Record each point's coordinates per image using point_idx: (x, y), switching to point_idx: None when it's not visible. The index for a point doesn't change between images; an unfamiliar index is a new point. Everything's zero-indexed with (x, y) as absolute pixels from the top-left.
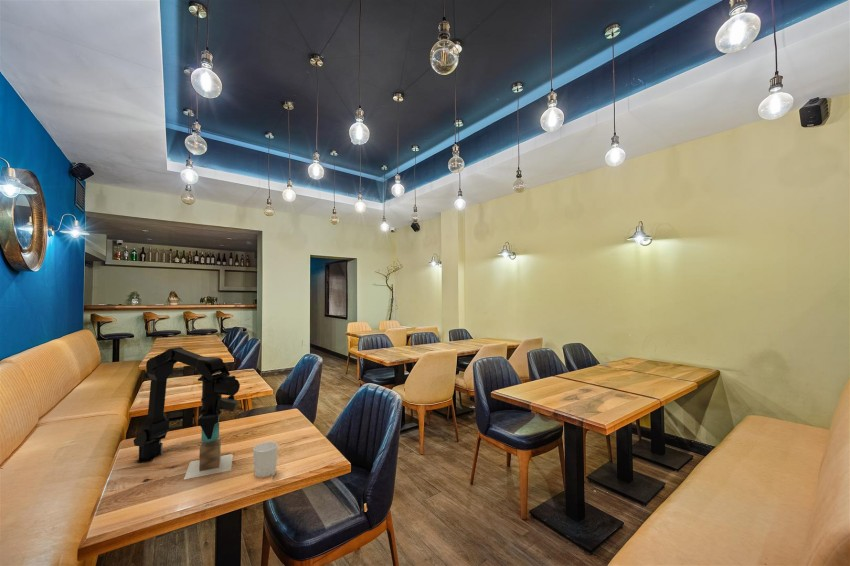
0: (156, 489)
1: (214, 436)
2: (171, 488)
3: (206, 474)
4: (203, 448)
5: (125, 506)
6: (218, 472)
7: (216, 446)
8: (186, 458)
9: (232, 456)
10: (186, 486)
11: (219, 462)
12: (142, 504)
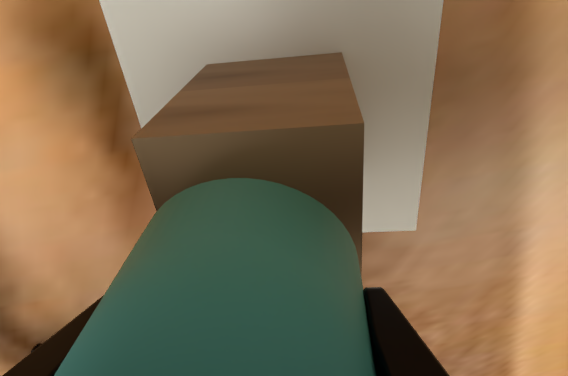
0: (416, 302)
1: (343, 264)
2: (447, 255)
3: (421, 122)
4: (360, 263)
5: (504, 355)
6: (435, 39)
7: (360, 149)
8: (102, 255)
9: None
10: (473, 198)
11: (292, 61)
12: (534, 317)
